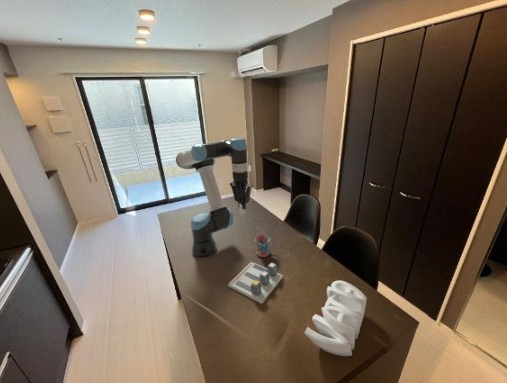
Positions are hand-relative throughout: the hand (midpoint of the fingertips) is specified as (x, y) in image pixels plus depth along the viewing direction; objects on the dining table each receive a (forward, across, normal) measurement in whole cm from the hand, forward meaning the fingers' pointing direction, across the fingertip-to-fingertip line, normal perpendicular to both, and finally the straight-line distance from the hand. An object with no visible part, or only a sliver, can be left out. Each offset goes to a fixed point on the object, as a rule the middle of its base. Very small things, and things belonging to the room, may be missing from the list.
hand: (242, 214), depth 119 cm
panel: (+32, +13, -8) cm, 36 cm away
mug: (+32, +4, +15) cm, 36 cm away
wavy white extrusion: (+32, +55, -10) cm, 64 cm away
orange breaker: (+30, +18, -15) cm, 38 cm away
